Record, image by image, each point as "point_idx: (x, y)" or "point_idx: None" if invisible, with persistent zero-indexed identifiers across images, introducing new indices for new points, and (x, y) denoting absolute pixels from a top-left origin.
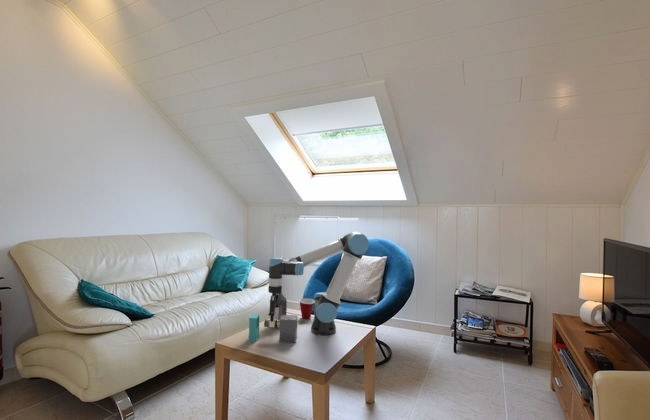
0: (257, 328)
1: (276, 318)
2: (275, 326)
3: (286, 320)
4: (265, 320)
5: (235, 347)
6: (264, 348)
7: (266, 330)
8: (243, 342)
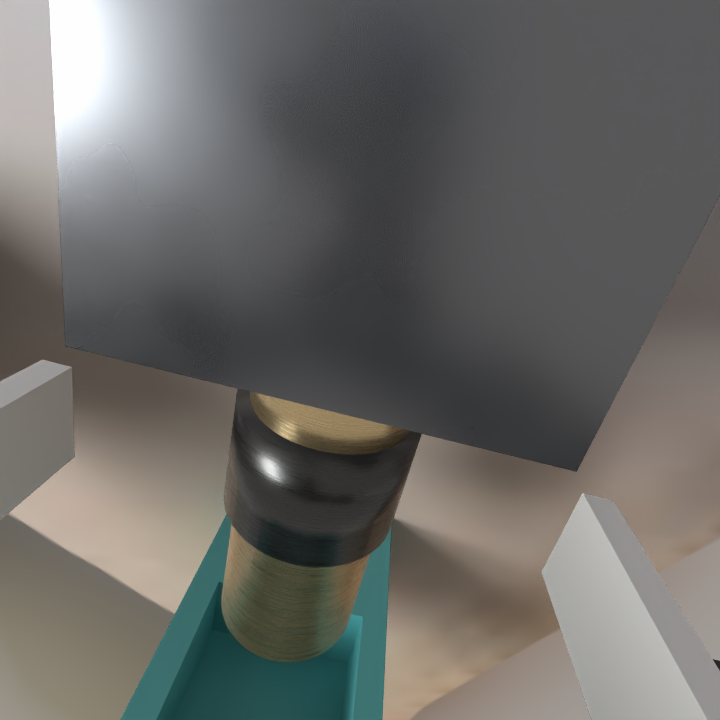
0: None
1: (60, 407)
2: None
3: (673, 229)
4: (301, 650)
5: (489, 662)
6: (607, 459)
7: None
8: None
